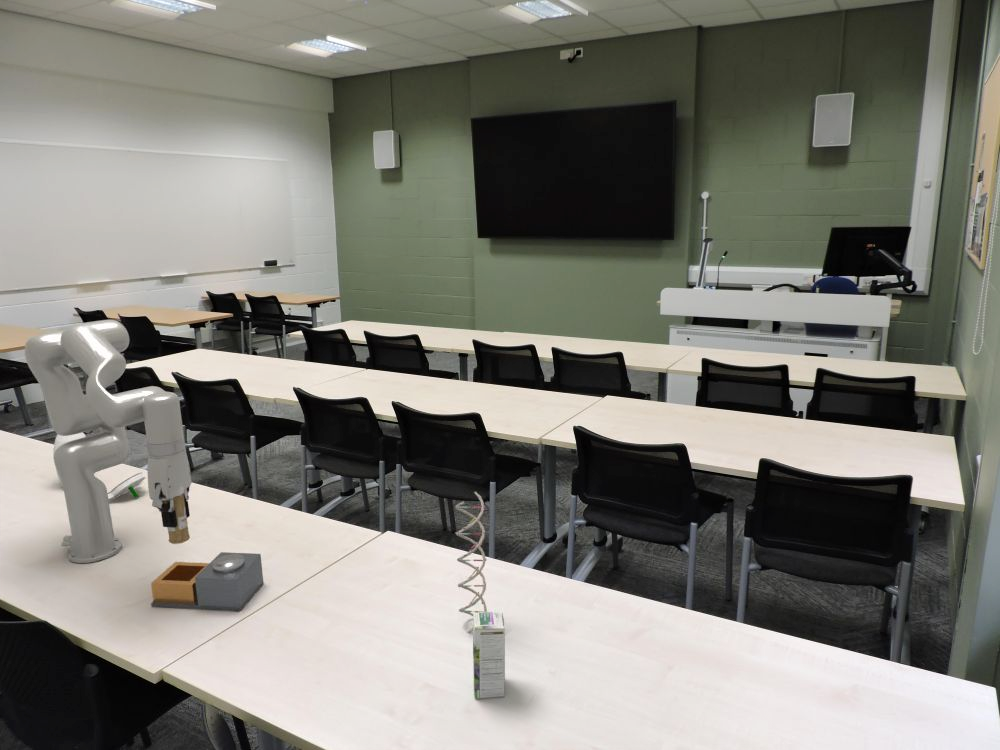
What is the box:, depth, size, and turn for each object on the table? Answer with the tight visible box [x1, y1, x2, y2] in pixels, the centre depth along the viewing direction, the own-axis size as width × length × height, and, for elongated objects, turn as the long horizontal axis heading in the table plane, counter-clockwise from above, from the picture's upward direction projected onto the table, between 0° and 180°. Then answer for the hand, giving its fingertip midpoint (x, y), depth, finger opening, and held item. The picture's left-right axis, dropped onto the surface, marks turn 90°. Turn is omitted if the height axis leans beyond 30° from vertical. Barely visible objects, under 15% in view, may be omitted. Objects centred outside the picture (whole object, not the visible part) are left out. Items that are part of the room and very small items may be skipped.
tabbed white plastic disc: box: [107, 472, 146, 501], centre depth 222 cm, size 15×8×11 cm
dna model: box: [454, 491, 488, 634], centre depth 148 cm, size 7×6×30 cm
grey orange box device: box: [150, 551, 265, 612], centre depth 165 cm, size 22×15×9 cm
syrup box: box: [472, 611, 506, 700], centre depth 130 cm, size 6×6×14 cm
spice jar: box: [164, 487, 191, 545], centre depth 161 cm, size 5×5×13 cm
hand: (176, 521), depth 161 cm, fingers closed on spice jar, 4 cm apart
